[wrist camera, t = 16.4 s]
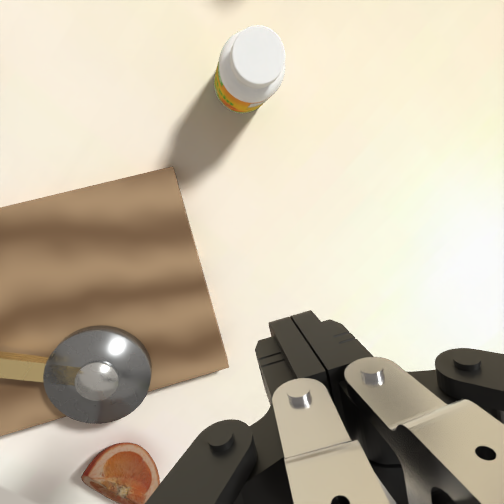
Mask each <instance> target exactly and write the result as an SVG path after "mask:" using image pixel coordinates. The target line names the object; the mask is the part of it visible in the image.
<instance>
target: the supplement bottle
mask: <svg viewBox="0 0 504 504" xmlns="http://www.w3.org/2000/svg"><path fill="white" fill-rule="evenodd" d="M284 73H285V49H284V45H283V43H282V41H281V39H280V37H279V36H278V35H277V34H276V33H275V32H274V31H273V30H272V29H270V28H268V27H265V26H261V25H254V26H250V27H247V28H246V29H244V30H242V31H239V32H237V33H235V34H234V35H233V36H231V37H230V38H229V39H228V41H227V42H226V43H225V45H224V47H223V49H222V51H221V54H220V57H219V61H218V65H217V69H216V73H215V78H214V87H215V92H216V95H217V97H218V99H219V100H220V102H221V103H222V104H223V105H224V106H225V107H226V108H227V109H229V110H231V111H233V112H236V113H248V112H252V111H254V110H256V109H257V108H259V107H260V106H261V105H262V104H263V103H264V102H265V101H267V100H268V99H269V98H270V97H271V96H272V95H273V94H274V93H275V92H276V91H277V89H278V88H279V87H280V85H281V83H282V80H283V77H284Z"/></svg>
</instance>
